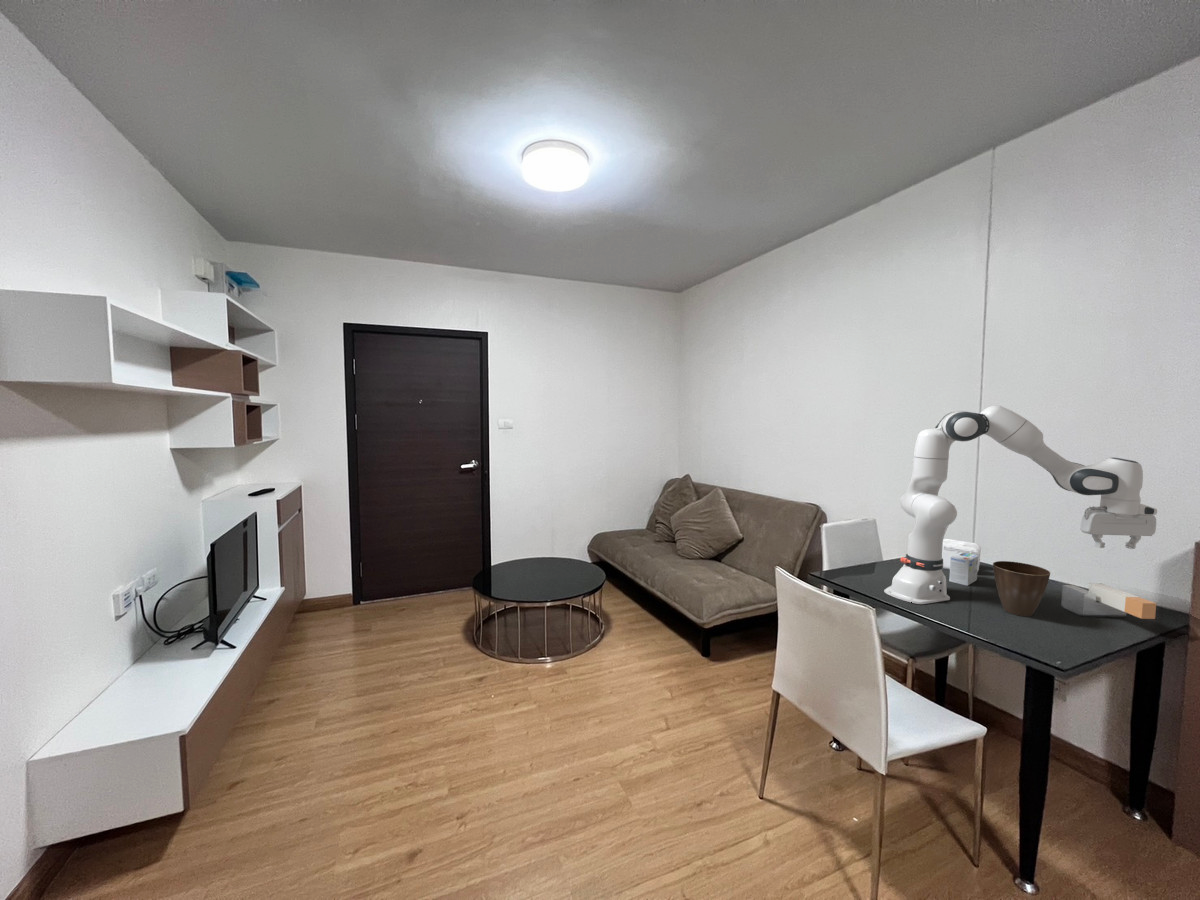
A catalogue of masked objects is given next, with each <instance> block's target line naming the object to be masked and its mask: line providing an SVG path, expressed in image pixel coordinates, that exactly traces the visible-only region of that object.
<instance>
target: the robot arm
mask: <svg viewBox="0 0 1200 900" xmlns="http://www.w3.org/2000/svg"><path fill="white" fill-rule="evenodd" d="M983 435H985V436H988V437H989V438H991V439H993V440H994V441H995V442H997V443H998V444H1000V445H1001V446H1002V447H1005V448H1006V449H1008V450H1009V451H1011V452H1014V453H1017V454H1019V455H1021V456H1025V457H1027V458H1029V459H1030V460H1032V461H1033V462H1034V463H1036V464H1037V465H1038V466H1040V467H1041V468H1043V469H1044V470H1046V471H1047V472H1048V473H1049V474H1050V475H1051V476H1052V478H1053V480H1054V482H1055V484H1057V486H1059V488H1061V489H1063V490H1065V491H1069V492H1073V493H1076V494H1079V495H1081V496H1100V500H1099V501H1100V502H1099V506H1094V505H1093V506H1089V507H1088V508H1086V509H1085V510H1084V512H1083V515H1082V519H1081V522H1080V528H1079V529H1080V531H1081V532H1082V533H1084V534H1088V535H1091V537H1092V539H1093V541H1094V547H1095V548H1099V549H1104V548H1105V547H1106V543H1105V542H1103V541H1102V539H1103V537H1104V536H1129V538H1130V539H1129V540H1128V542H1127V541H1126V542H1125V546H1124V547H1125V548H1126V549H1130V550H1135V549H1136V548H1137V544H1138V543H1139V542H1140V541H1141V539H1142V537H1152V536H1153V535H1155V533H1156V532H1157V531H1156V530H1157V517H1156V516H1155V515H1157V513H1158V509H1157V508H1155V507H1152V506H1149V505H1146V504H1143V503H1141V501H1142V499H1141V496H1140V492H1141V490H1142V488H1143V481H1144V471H1143V467H1142V464H1141V463H1139V462H1138V461H1135V460H1130V459H1125V458H1119V457H1109V458H1107V459H1106V460H1103V461H1100V462H1096V463H1093V464H1089V465H1084V464H1081V463H1077V462H1073V461H1069V460H1067V459H1066V458H1064V457H1063V456H1062V455H1060V454H1058V452H1056V451H1055V450H1053V449H1052V448H1050V447H1049V446H1047V444H1046V443H1045V442H1044V434H1043V432H1042V431H1041V430H1040V429H1039V428H1038V427H1037V426H1036V425H1035V424H1034V423H1032V422H1031V421H1030V420H1028V419H1026V418H1025V417H1023V416H1022V415H1020V414H1018V413H1017V412H1015V411H1013V410H1010V409H1009V408H1007V407H1005V406H1002V405H991V406H988V407H986V408H984V409H983V410H982V411H980V412H979V413H976V412H971V411H968V410H967V411H966V410H956V411H951V412H949V413H947V414H945V415H944V416H943V417H942V418H941V419H940V420H939V422H938V423H937V425H935V427H933V428H925V429H923V430H921V431H920V432H918V434H917V437H916V440H915V444H914V448H913V457H912V469H911V477H910V481H909V483H908V486H907V488H906V491H905V492H904V493H903V495H902V496H900V501H899V504H900V507H901V509H902V510H903V511H904V512H905V513H906V514H907V515H909V516H910V517H913V518H914V519H915V524H914V526H913V529H912V531H911V532H909V533H908V537H907V552H906V554H905V557H904V556H902V557H901V558H900V563H903V566H901V568H900V569H899V570H898V571H897V573H896V574H895V575H894V576H893V577H892V582H891V585H890V586H888V587H886V588H884V590H883V592H884V593H885V594H886V595H889V596H891V597H893V598H895V599H897V600H898V599H899V600H900V601H904V602H908V603H911V602H912V604H917V605H926V604H932V603H938V602H945V601H950V600H951V597H950V596H949V595H948V594H947V577H946V575H945V574H944V571H943V569H944V568H943V559H942V548H943V539H945V535H946V532H947V530H948V528H949V526H950V525H951V524H952V523H954V522H955V520H956V519H957V516H958V511H957V507H955V505H954V504H953V503H952V502H950V501H949V500H948V499H946V498H945V497H942V496H939V491H940V489H941V486H942V484H943V483H945V482H946V480H947V479H948V470H949V457H950V449H951V446H952V445H953V443H954V442H969V441H972V440H975V439H977V438H979V437H981V436H983Z"/></svg>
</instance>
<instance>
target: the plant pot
mask: <svg viewBox="0 0 1200 900" xmlns="http://www.w3.org/2000/svg"><path fill="white" fill-rule="evenodd" d="M992 567H993V568H992V569H993V575H994V581H995V586H996V590H997V593H998V596H999V600H1000V602H1001V605H1002V609H1003V610H1004V611H1005V612H1006V613H1009V614H1012V615H1015V616H1021V617H1032V616H1033V615H1034V613H1035V612H1036V610H1037V608H1038V606H1039V605H1040V603H1041V602H1042V599H1043V597H1044V595H1045V593H1046V589H1047V587H1048V583H1049V580H1050V576H1051V571H1050V570H1048V569H1046V568H1043V567H1040V566H1037V565H1034V564H1028V563H1023V562H1018V561H1010V560H1009V561H1008V560H1007V561H1006V560H999V561H994V562H993V563H992Z"/></svg>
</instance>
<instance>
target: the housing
mask: <svg viewBox="0 0 1200 900" xmlns="http://www.w3.org/2000/svg"><path fill="white" fill-rule="evenodd" d="M1060 606H1061V608H1063V609H1066V610H1067V611H1070V612H1072V613H1074V614H1076V615H1079V616H1081V617H1089V618H1090V617H1091V618H1092V617H1095V618H1096V617H1097V618H1098V617H1099V618H1102V617H1103V618H1106V617H1107V618H1126V617H1127V613H1126V612H1124V611H1121V610H1119V609H1116V608H1114V607H1111V606H1109V605H1106V604H1104V603H1101V602H1099V601H1097V600H1096V594H1095V593H1092V592H1090V591H1089V590H1087V589H1084V588H1082V587H1080V586H1077V585H1074V584H1073V585H1072V584H1062V589H1061V603H1060Z"/></svg>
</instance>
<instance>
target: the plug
mask: <svg viewBox="0 0 1200 900" xmlns="http://www.w3.org/2000/svg"><path fill="white" fill-rule="evenodd" d="M1088 591H1090V592H1092V593H1095V594H1096V600H1097V601H1099V602H1101V603H1104V604H1106V605H1109V606H1111V607H1114V608H1116V609H1119V610H1121V611H1124V612H1126V614H1129V615H1132V616H1133V617H1135V618H1139V619H1141V620H1143V619H1144V620H1155V619H1156V611H1157V603H1156V602H1154V601H1151V600H1148V599H1145V598H1142V597H1141V596H1137V595H1135V594H1132V593H1129V592H1127V591H1123V590H1121V589H1119V588H1116V587H1112V586H1109V585H1107V584H1104V583H1100V582H1098V583H1097V582H1096V583H1095V582H1092V583H1091V582H1089V583H1088Z"/></svg>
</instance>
